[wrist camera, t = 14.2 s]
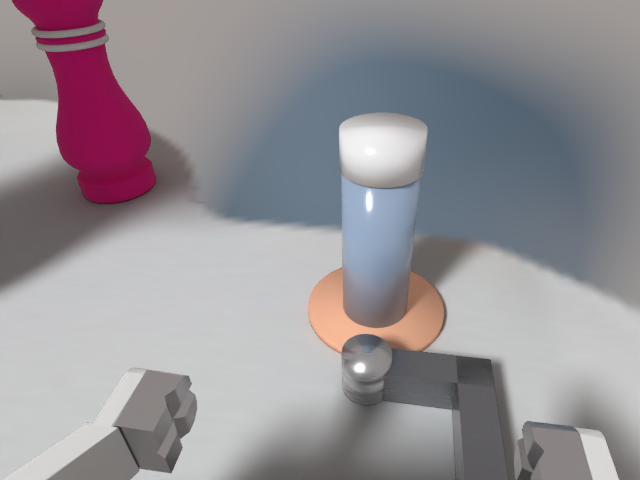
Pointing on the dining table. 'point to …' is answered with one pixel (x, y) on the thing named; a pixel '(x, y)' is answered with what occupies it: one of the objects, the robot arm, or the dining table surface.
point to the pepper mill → (91, 102)
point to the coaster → (406, 334)
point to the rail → (433, 396)
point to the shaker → (379, 213)
